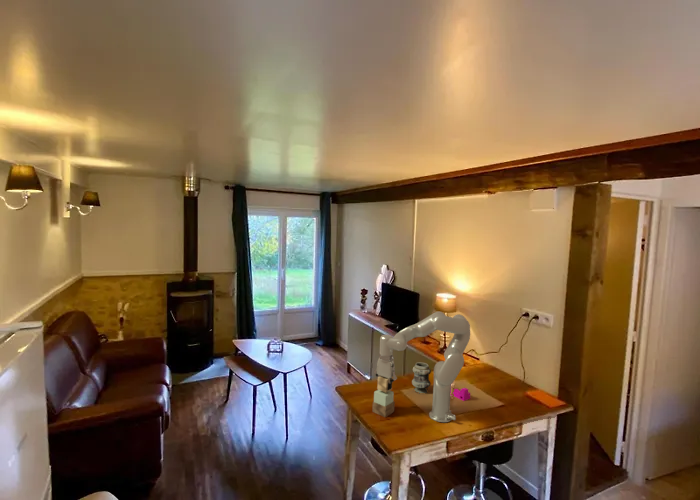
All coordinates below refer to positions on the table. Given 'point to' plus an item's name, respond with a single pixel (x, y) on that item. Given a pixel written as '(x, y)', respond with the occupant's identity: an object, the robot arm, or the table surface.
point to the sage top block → (383, 397)
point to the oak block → (383, 384)
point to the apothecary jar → (421, 377)
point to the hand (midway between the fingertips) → (384, 387)
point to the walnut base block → (383, 409)
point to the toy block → (462, 394)
